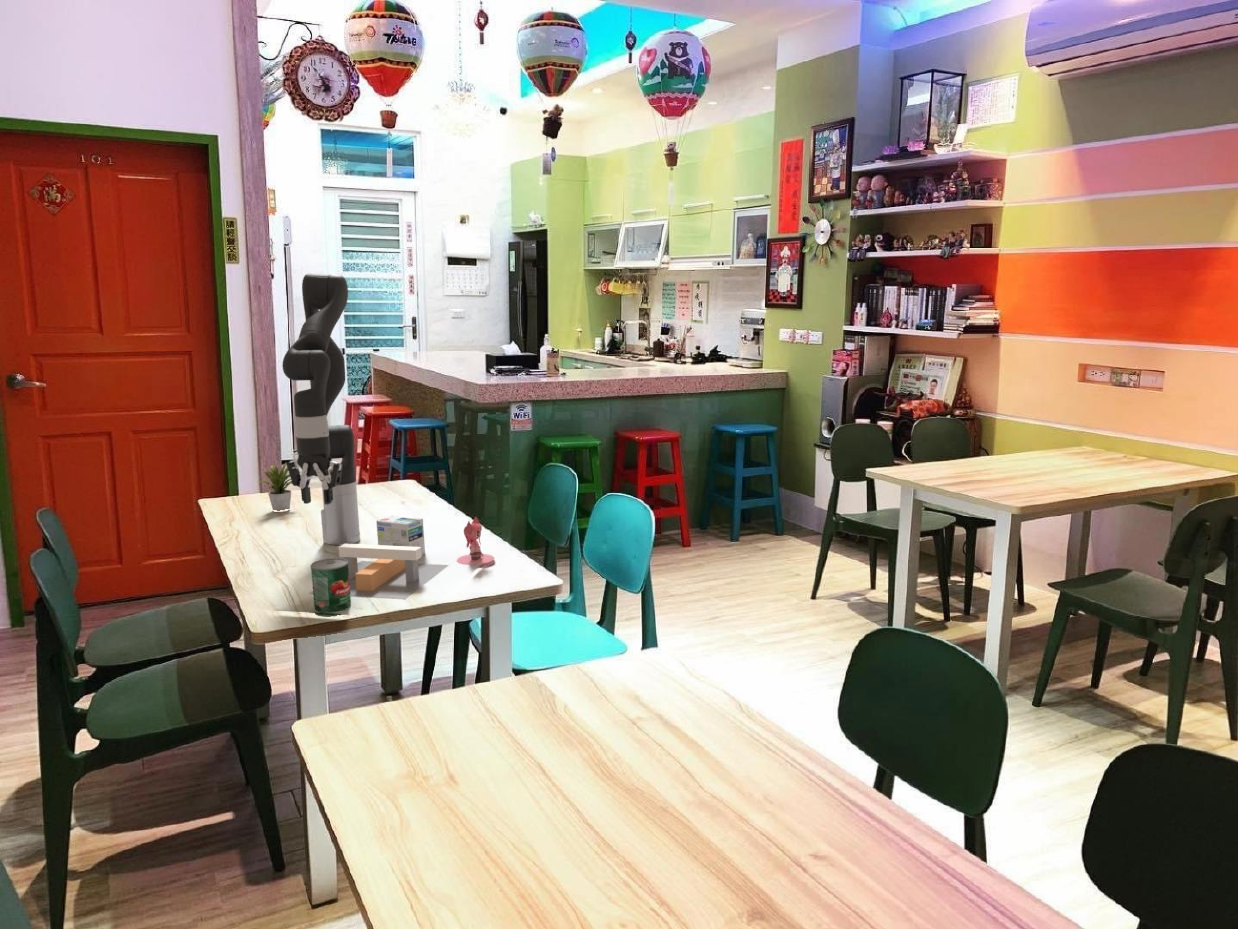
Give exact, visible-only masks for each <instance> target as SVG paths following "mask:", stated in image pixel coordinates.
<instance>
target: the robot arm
mask: <svg viewBox="0 0 1238 929" xmlns="http://www.w3.org/2000/svg"><path fill="white" fill-rule="evenodd" d="M301 294H302V304H303V308H304V309H303V311H304V318H305V322H304V323H303V325H302V326H301V329H300V333H299V336H298V339H296V341H295V342H294V343H293V344H292V345H291V346H290V347H289V348H288V350H287V351H286V353H285V355H284V356H283V358H282V359H283V360H282V371H283V374H284V376H286V378H287V379H289V380H291V381H295V382H296V381H309V384H310V388H308V389H307V388H306V389H303V390H299V391H296V392H295V393H294V396H293V405H294V415H295V419H294V420H295V422H294V428H295V430H294V431H295V441H296V452H297V455H298V457H297V459H296V460H295V459H294V460H290V461H288V462H286V468H288V473H289V474H290V477H289V478H290V479H291V480H290V481H292V483H293V484H292V485H293V486H294V487H298V488H299V489H300V493H301V496H300V497H301V501H302V502H303V504H310V503H312V502H311V501H312V497H311V487H310V483H311V480H312V478H313V476H314V477H318V480H319V481H320V482H321V489H322V491H321V492H322V502H323V504H322V505H323V509H321V510H320V515H321V528H322V530H321V531H322V539H323V544H328V545H333V546H341V545H343V544H356V543H357V542H360V541H361V533H360V520H359V518H360V517H359V506H358V505H359V504H358V492H357V478H356V467H355V466H356V465H355V463H356V462H355V437H354V430H353V428H352V427H351V426H350V425H348V424H339V425H336V424H335V425H329V422H328V418H327V417H328V414H329V412H330V409H331V408H332V405H333V404H334V402H335V401H336V399H337V398H338V396H339V394H340V393H341V391H342V390H343V389H344V388H343V387H344V386H345V383H346V366H345V364H346V362H345V361H346V360H345V357H344V355H343V354H344V353H343V352H342V350H341V349H340V348H339V346H338V345H337V344H336V342H335V340H334V339H333V338H332V337H331V336H332V332H333V331H334V328H335V326H336V325H337V323H338V322H339V321H340V320H339V319H340V318H341V317H342V316H341V315H342V314H343V313H344V310H345V308H346V306H347V303H348V299H349V287H348V282H347V280H346V278H345V277H344V276H343V275H339V274H331V273H327V274H326V273H307V274H305V275H304V276H303V277H302V283H301ZM334 459H336V460H337V459H342V460H341V461H334ZM300 469H301V470H302V471H300ZM300 472H301V473H300ZM289 474H288V475H289Z"/></svg>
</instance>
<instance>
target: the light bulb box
mask: <svg viewBox="0 0 1238 929" xmlns="http://www.w3.org/2000/svg"><path fill="white" fill-rule="evenodd" d="M376 533H377V534H376V536H377V545H387V546H410V547H421V555H422V556H423V555H425V554H426V547H425V546H426V545H425V531H424V519H423V518H418V517H408V516H398V515H389V516H387V517H383V518H380V519H377V520H376Z"/></svg>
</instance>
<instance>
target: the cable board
mask: <svg viewBox="0 0 1238 929" xmlns="http://www.w3.org/2000/svg"><path fill="white" fill-rule="evenodd" d="M342 559H346V560H347V561H348V569H349V583H350V584H349V585H350V596H351V597H359V598H376V599H394V600H395V599H396V600H406V599H408V598H409V597H410V596H412V595H413V594H414V593H415V592H417V591H418V590H419V589H420V588H421V587H423V586H424V585H425V584H427V583H428V582H429V581H430V580H432V579H433V578H434V577H436V576H437V575H439V573H441V572H442V571H443V570H445V569H446V568H447V567H448V566H449V564H438V563H437V564H434V563H433V564H432V563H419V559H418V560H417V561H414V560H405V569H403V570H402V571H400V572H399V573H397V574H396V575H395V576H393V577H392V578H390V579H389V580H387V581H386V582H385V583H383V584H382V585H380V586H379V587H378V588H376V589H375V590H373V591H362V590H357V589H356V575H355V574H356V573H358V572H359V571H361V570H362V569H364V568H365V567H367V566H369V565H370V564H372V563H373V562H375V561H376V560H375V561H374V560H373V561H372V560H360V561H359V562H358V558H352V557H342ZM308 594H309V595H313V590H312V591H310V592H309V593H308Z"/></svg>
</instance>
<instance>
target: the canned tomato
mask: <svg viewBox="0 0 1238 929" xmlns="http://www.w3.org/2000/svg"><path fill="white" fill-rule="evenodd" d="M310 569H311V570H310V571H311V582H312V583H311V584H312V591H313V594H312V595H313V607H314V610H315V612H314V615H316V616H318V617H323V618H331V616H333V617H338V616H337V615H339V616H342V615H341V614H342V613H338V612H341V611H345V610H347V609H349V608H350V607H351V605H352V598H351V597H352V596H350V585H349V584H350V583H349V569H348V561H347V560H346V559H343V557H332V558H331V557H329V558H324V559H319V560H316V561H313V562H311V564H310ZM336 612H337V613H336Z"/></svg>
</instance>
